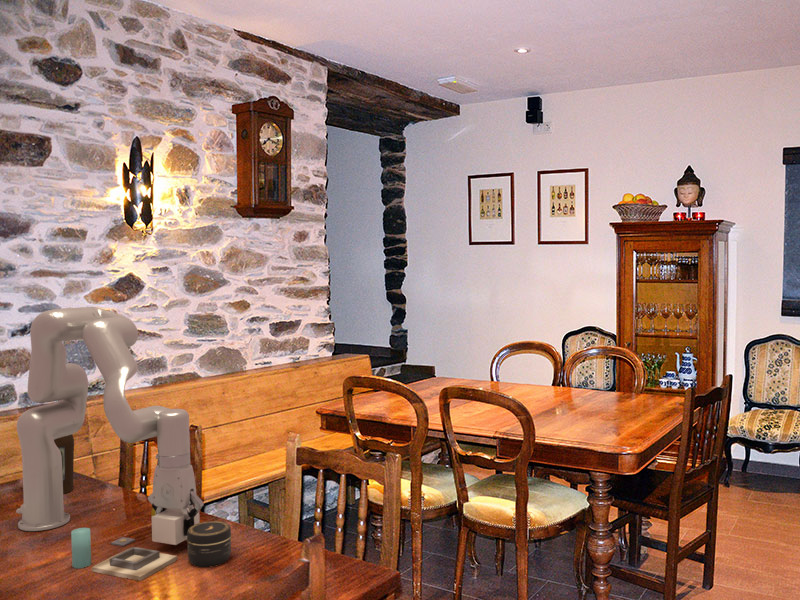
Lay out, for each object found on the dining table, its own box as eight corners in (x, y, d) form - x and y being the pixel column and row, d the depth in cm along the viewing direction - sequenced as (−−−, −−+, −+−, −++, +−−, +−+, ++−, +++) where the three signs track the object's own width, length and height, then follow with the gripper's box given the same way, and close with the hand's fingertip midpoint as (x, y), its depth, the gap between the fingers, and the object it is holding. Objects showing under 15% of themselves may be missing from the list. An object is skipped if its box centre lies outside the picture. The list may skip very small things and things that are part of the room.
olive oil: (42, 487, 225) (40, 408, 224) (79, 485, 228) (76, 406, 226) (32, 498, 215) (30, 415, 214) (70, 495, 217) (68, 413, 216)
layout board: (91, 571, 162) (91, 560, 162) (130, 551, 173) (130, 541, 173) (140, 581, 157) (140, 569, 157) (177, 560, 168) (176, 549, 168)
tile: (110, 544, 178) (110, 541, 178) (122, 538, 182) (122, 536, 182) (123, 546, 177) (123, 544, 176) (135, 540, 180) (135, 538, 180)
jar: (233, 550, 174) (232, 519, 173) (230, 566, 164) (229, 533, 164) (190, 553, 172) (189, 521, 172) (185, 570, 162) (184, 537, 162)
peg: (68, 566, 165) (67, 532, 164) (82, 560, 168) (81, 526, 168) (81, 569, 163) (80, 534, 163) (95, 562, 167) (94, 528, 167)
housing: (152, 541, 174) (151, 516, 173) (177, 528, 182) (176, 505, 182) (175, 545, 171) (174, 520, 171) (199, 532, 179) (199, 508, 179)
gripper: (135, 461, 175) (137, 532, 176) (193, 467, 169) (195, 542, 170) (156, 453, 182) (158, 522, 183) (213, 459, 176) (215, 531, 177)
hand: (176, 531), depth 176 cm, fingers closed on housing, 7 cm apart
